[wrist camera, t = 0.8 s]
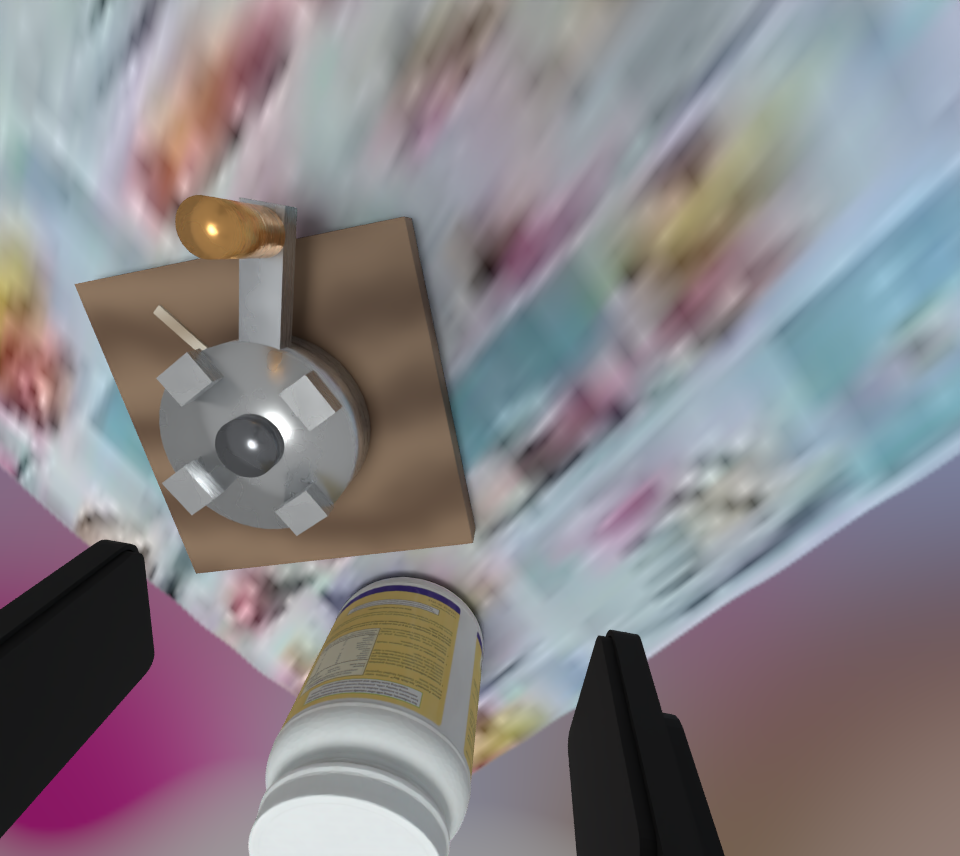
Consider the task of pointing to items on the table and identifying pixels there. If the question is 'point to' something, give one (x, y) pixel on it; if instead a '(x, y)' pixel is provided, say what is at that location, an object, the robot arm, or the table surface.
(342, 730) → the supplement tub
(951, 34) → the table surface
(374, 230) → the nut board
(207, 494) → the silver and gold piece
